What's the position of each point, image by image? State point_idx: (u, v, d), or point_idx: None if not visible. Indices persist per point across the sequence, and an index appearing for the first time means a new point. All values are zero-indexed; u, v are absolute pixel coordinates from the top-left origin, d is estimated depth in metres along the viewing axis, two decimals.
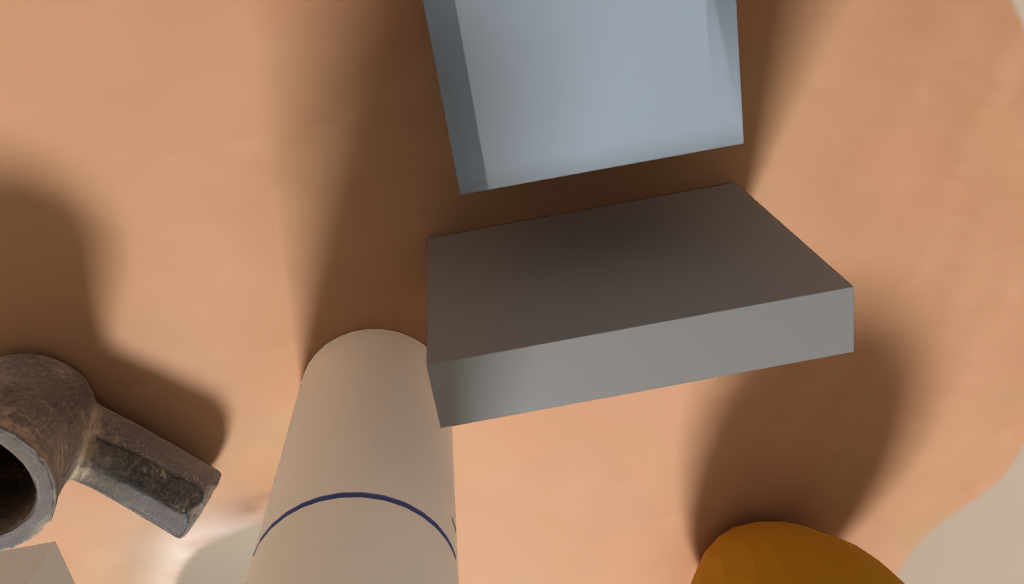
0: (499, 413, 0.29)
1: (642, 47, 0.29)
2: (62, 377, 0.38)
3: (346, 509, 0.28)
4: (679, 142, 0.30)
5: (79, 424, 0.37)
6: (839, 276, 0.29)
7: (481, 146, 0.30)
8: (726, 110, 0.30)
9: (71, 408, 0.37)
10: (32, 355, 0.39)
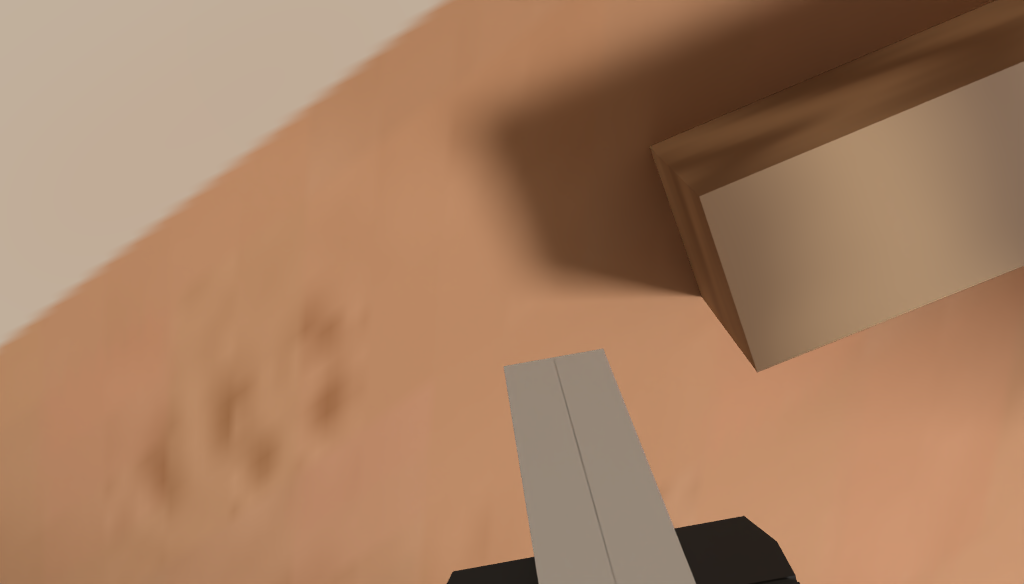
0: None
1: None
2: None
3: None
4: None
5: None
6: None
7: None
8: None
9: None
10: None
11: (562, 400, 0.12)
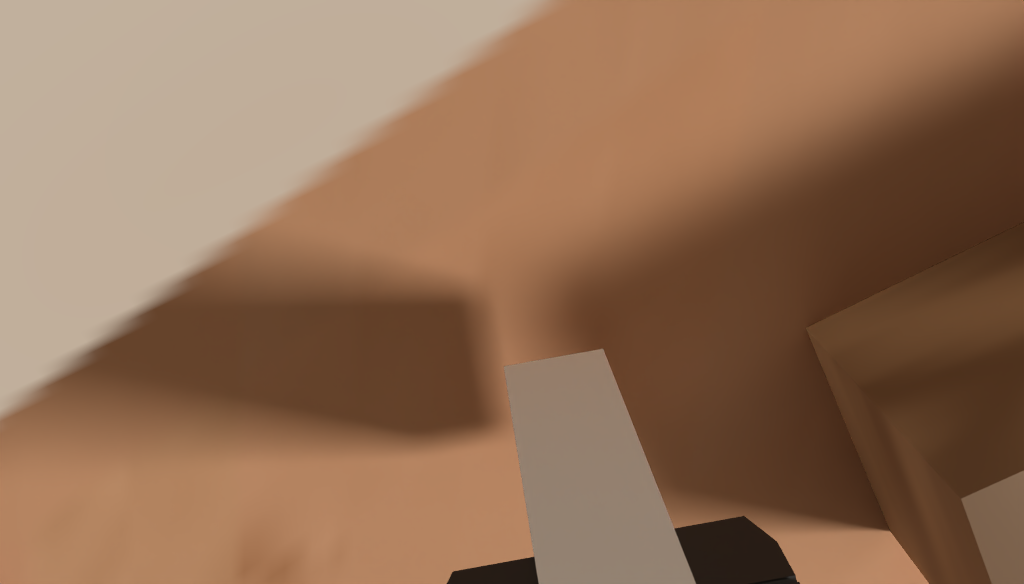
0: None
1: None
2: None
3: None
4: None
5: None
6: None
7: None
8: None
9: None
10: None
11: (562, 400, 0.12)
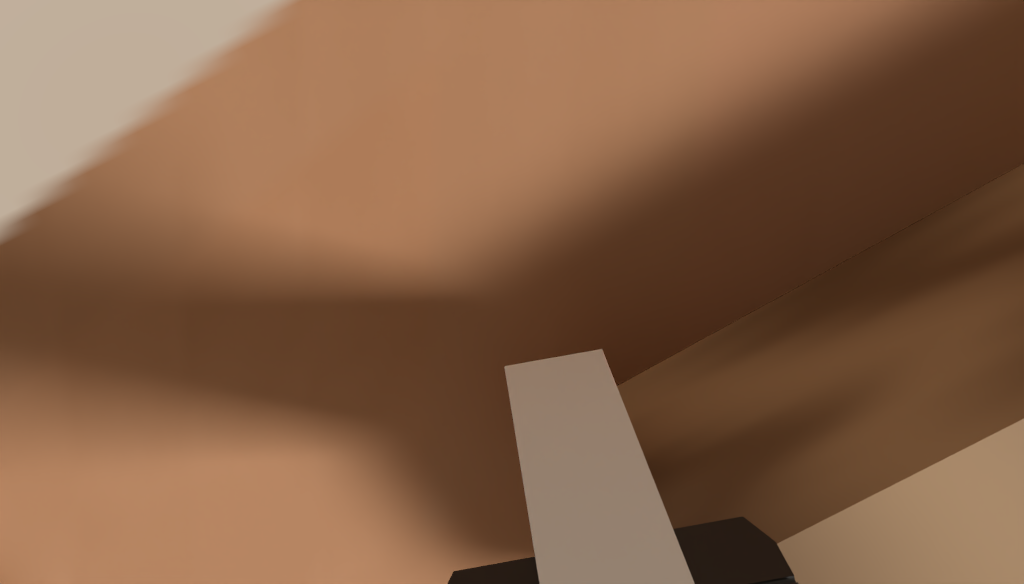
0: None
1: None
2: None
3: None
4: None
5: None
6: None
7: None
8: None
9: None
10: None
11: (561, 400, 0.12)
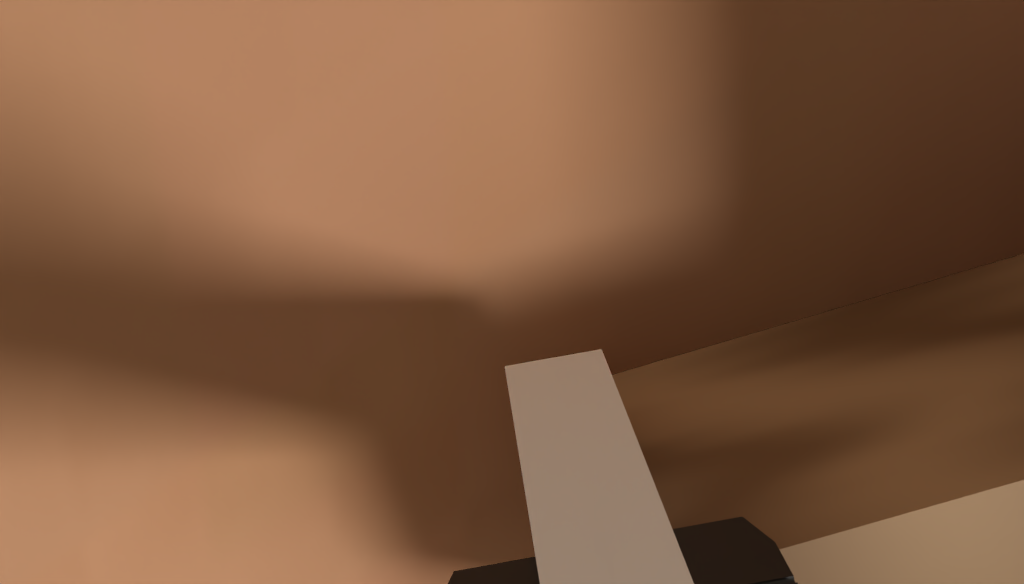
0: None
1: None
2: None
3: None
4: None
5: None
6: None
7: None
8: None
9: None
10: None
11: (561, 400, 0.12)
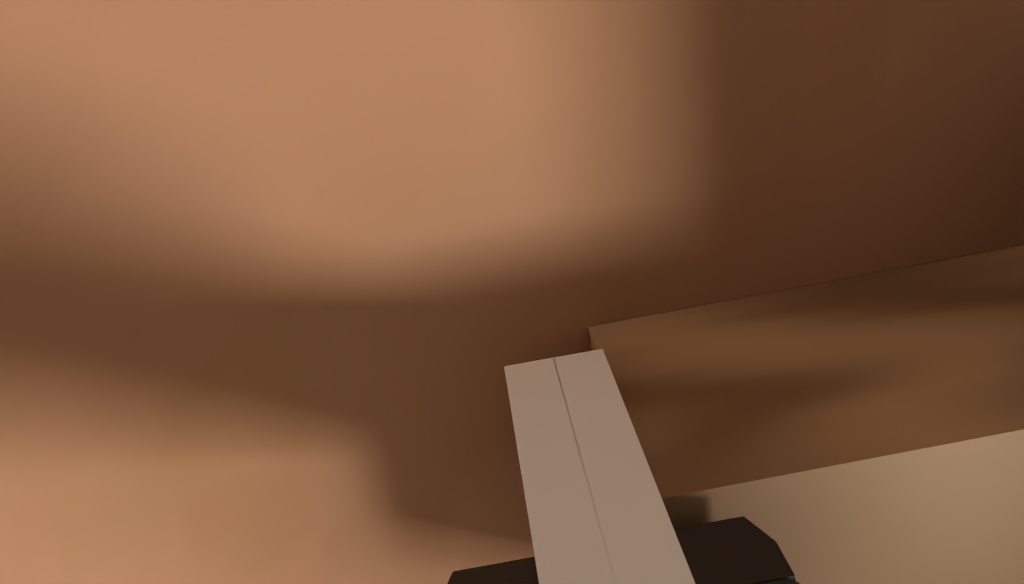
0: None
1: None
2: None
3: None
4: None
5: None
6: None
7: None
8: None
9: None
10: None
11: (561, 400, 0.12)
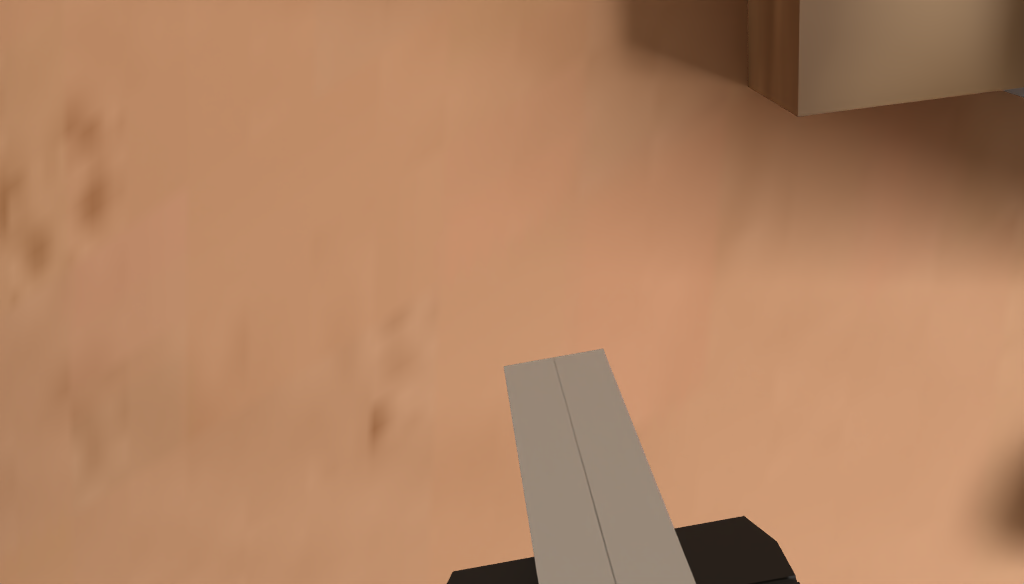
0: None
1: None
2: None
3: None
4: None
5: None
6: None
7: None
8: None
9: None
10: None
11: (562, 400, 0.12)
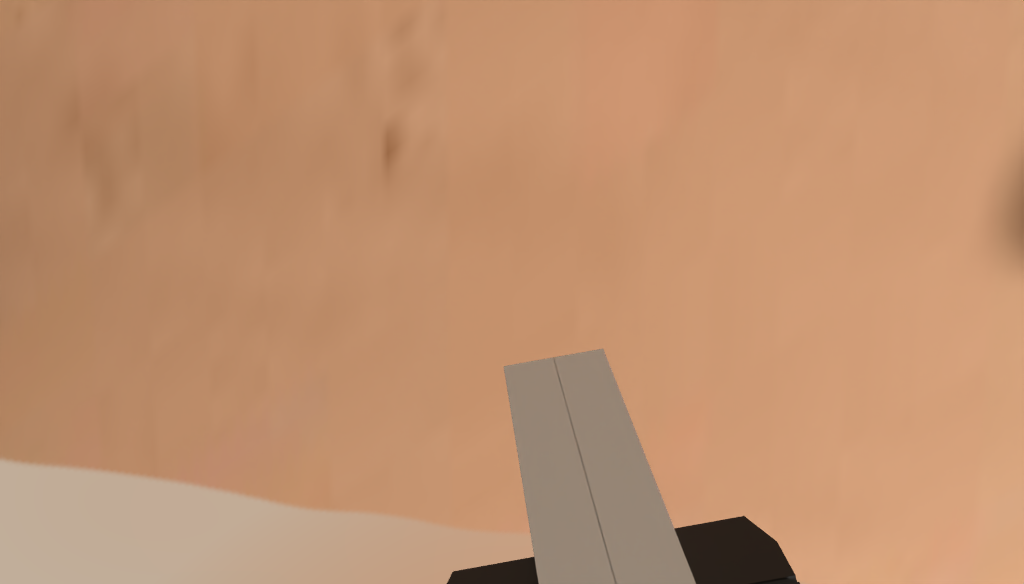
0: None
1: None
2: None
3: None
4: None
5: None
6: None
7: None
8: None
9: None
10: None
11: (562, 400, 0.12)
